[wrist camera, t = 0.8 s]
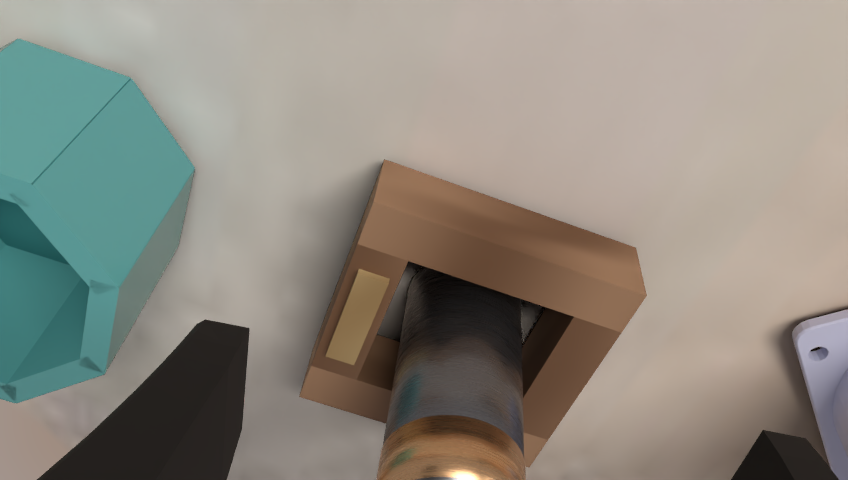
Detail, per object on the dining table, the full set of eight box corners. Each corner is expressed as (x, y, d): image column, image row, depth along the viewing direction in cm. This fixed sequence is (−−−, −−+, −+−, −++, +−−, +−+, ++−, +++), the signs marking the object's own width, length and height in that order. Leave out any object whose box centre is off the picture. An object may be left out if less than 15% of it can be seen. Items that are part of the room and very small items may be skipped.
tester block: (635, 247, 21) (647, 301, 19) (527, 415, 25) (529, 472, 23) (384, 159, 20) (372, 206, 18) (313, 347, 24) (297, 402, 22)
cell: (538, 326, 23) (551, 583, 16) (435, 355, 24) (409, 609, 17) (494, 239, 21) (489, 486, 15) (387, 275, 22) (337, 521, 16)
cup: (235, 225, 22) (172, 351, 18) (51, 295, 24) (-43, 422, 20) (80, 6, 19) (-40, 98, 15) (-117, 108, 21) (-271, 214, 17)
